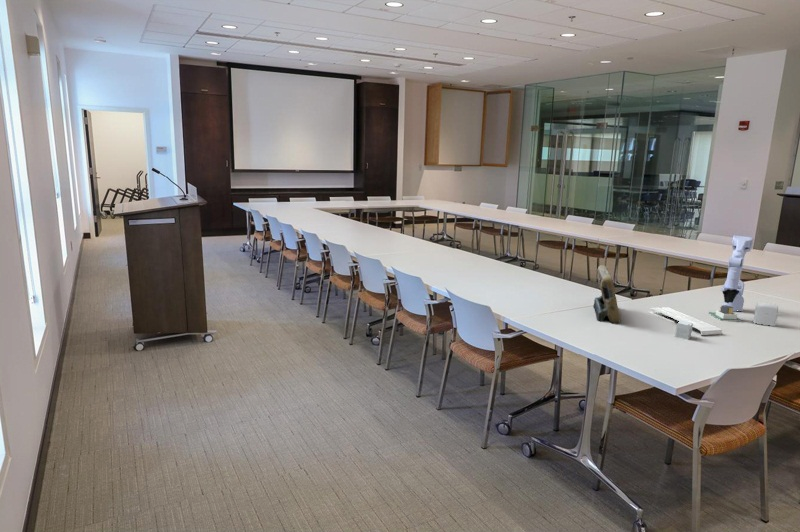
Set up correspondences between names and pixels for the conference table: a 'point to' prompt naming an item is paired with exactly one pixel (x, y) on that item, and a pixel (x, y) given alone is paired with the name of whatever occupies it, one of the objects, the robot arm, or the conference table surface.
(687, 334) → the skincare box
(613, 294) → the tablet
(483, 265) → the conference table surface
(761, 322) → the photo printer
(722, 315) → the board
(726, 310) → the plug
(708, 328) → the white keyboard
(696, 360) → the conference table surface
